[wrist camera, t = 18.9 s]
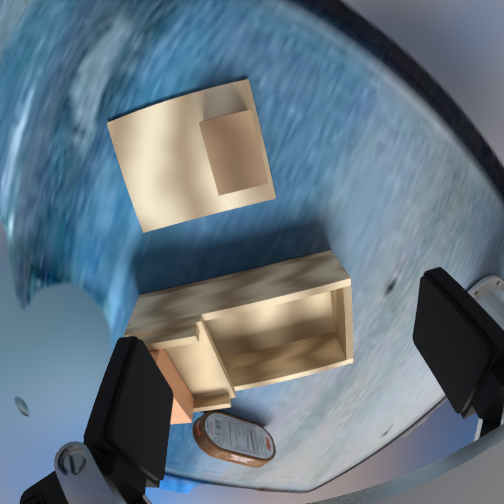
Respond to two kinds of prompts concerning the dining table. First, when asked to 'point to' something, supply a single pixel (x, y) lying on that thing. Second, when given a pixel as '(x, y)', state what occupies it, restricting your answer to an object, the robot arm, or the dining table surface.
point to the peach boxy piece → (175, 388)
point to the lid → (193, 156)
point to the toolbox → (251, 326)
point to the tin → (233, 439)
